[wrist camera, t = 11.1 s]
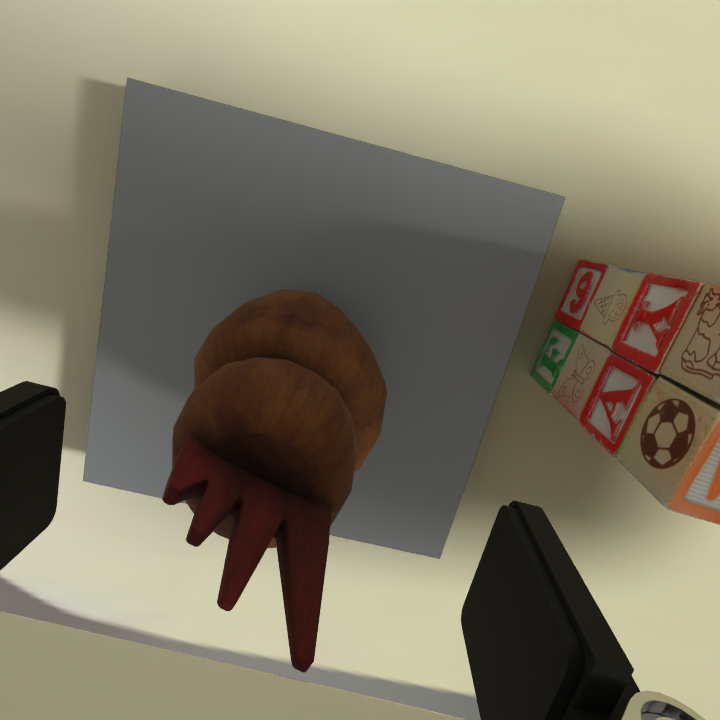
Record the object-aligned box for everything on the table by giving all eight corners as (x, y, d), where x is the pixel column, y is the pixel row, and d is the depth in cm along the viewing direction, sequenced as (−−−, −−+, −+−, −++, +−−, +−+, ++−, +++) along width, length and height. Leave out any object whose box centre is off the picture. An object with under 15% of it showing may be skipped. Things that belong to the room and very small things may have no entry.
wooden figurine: (405, 372, 22) (472, 668, 8) (306, 442, 23) (209, 812, 9) (311, 250, 21) (186, 345, 6) (209, 330, 22) (-90, 564, 8)
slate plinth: (544, 199, 23) (565, 197, 20) (432, 529, 28) (439, 558, 25) (153, 93, 22) (127, 77, 19) (108, 457, 26) (82, 480, 24)
